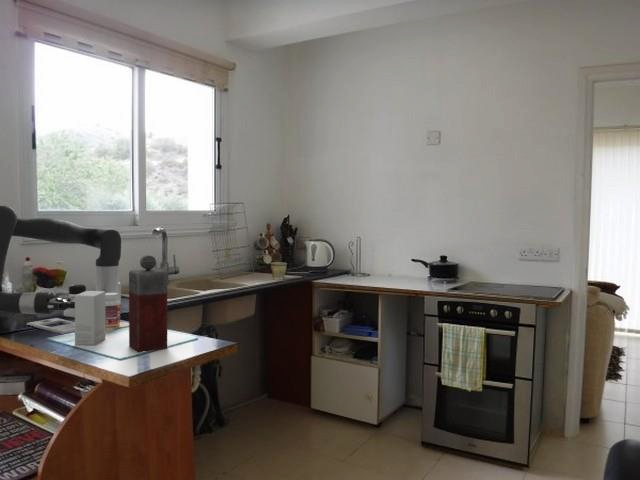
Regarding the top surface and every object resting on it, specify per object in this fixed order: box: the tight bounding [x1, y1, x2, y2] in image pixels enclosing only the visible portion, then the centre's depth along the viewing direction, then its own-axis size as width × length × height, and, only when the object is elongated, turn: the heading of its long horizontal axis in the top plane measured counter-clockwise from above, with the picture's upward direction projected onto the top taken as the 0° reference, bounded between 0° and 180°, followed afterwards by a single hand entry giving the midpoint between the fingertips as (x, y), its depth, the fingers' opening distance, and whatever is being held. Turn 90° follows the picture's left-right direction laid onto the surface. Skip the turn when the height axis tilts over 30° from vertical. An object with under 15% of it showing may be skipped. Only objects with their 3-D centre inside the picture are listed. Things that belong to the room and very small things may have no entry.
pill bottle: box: [105, 293, 121, 327], centre depth 184 cm, size 6×6×11 cm
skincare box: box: [74, 290, 106, 346], centre depth 162 cm, size 8×7×16 cm
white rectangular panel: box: [26, 317, 75, 335], centre depth 183 cm, size 11×22×1 cm, turn 57°
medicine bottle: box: [63, 284, 87, 319], centre depth 202 cm, size 7×7×12 cm
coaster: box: [105, 321, 129, 332], centre depth 185 cm, size 10×10×1 cm
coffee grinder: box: [128, 254, 168, 353], centre depth 158 cm, size 9×11×28 cm
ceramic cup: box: [270, 261, 288, 280], centre depth 323 cm, size 13×10×10 cm
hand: (85, 302), depth 183 cm, fingers open, 8 cm apart
